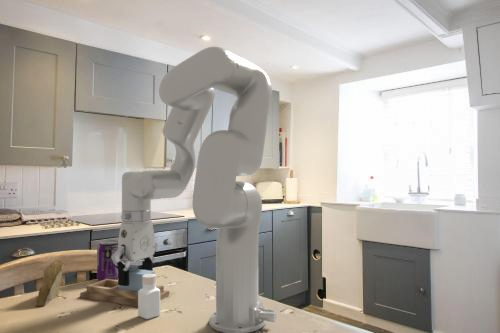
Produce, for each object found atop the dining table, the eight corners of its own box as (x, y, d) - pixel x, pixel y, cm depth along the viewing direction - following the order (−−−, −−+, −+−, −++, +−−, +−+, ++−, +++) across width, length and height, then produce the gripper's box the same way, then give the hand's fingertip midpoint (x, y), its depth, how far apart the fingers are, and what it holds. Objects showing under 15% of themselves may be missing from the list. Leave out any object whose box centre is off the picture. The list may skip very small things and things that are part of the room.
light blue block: (155, 293, 98) (155, 266, 98) (145, 298, 94) (145, 270, 94) (128, 289, 101) (128, 263, 101) (118, 293, 98) (118, 267, 98)
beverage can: (112, 283, 111) (112, 244, 112) (92, 282, 113) (92, 243, 113) (125, 277, 118) (125, 240, 118) (105, 275, 120) (105, 239, 120)
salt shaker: (136, 316, 85) (137, 275, 85) (151, 311, 88) (151, 272, 88) (146, 320, 82) (146, 278, 83) (161, 315, 86) (161, 275, 86)
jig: (169, 295, 100) (169, 285, 100) (146, 307, 90) (146, 296, 91) (107, 286, 108) (107, 277, 108) (80, 297, 99) (80, 286, 99)
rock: (49, 300, 90) (78, 283, 99) (30, 272, 91) (61, 258, 100) (25, 321, 93) (56, 302, 103) (6, 294, 94) (39, 278, 103)
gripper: (125, 221, 89) (124, 291, 89) (166, 214, 105) (166, 273, 105) (101, 219, 92) (101, 288, 91) (145, 213, 108) (145, 271, 107)
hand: (136, 280), depth 98 cm, fingers open, 9 cm apart
